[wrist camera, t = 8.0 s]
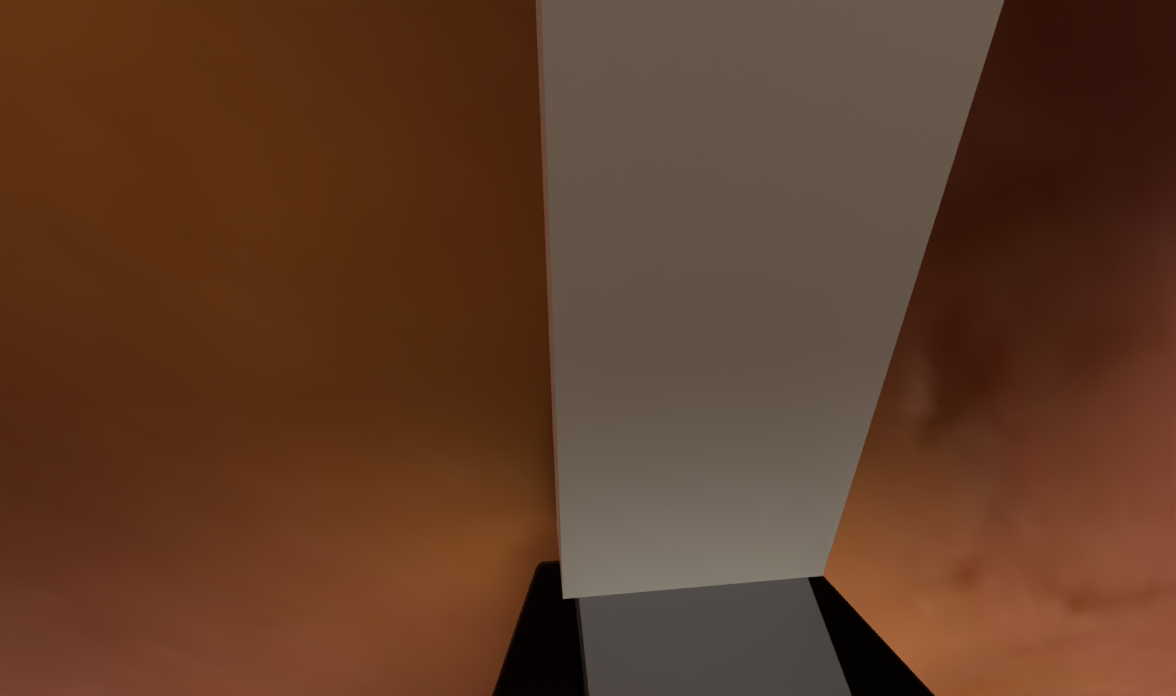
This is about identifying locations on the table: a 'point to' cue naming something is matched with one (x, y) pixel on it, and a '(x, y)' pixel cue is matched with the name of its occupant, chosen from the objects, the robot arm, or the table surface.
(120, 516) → the table surface
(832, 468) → the grey mallet
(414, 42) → the table surface
